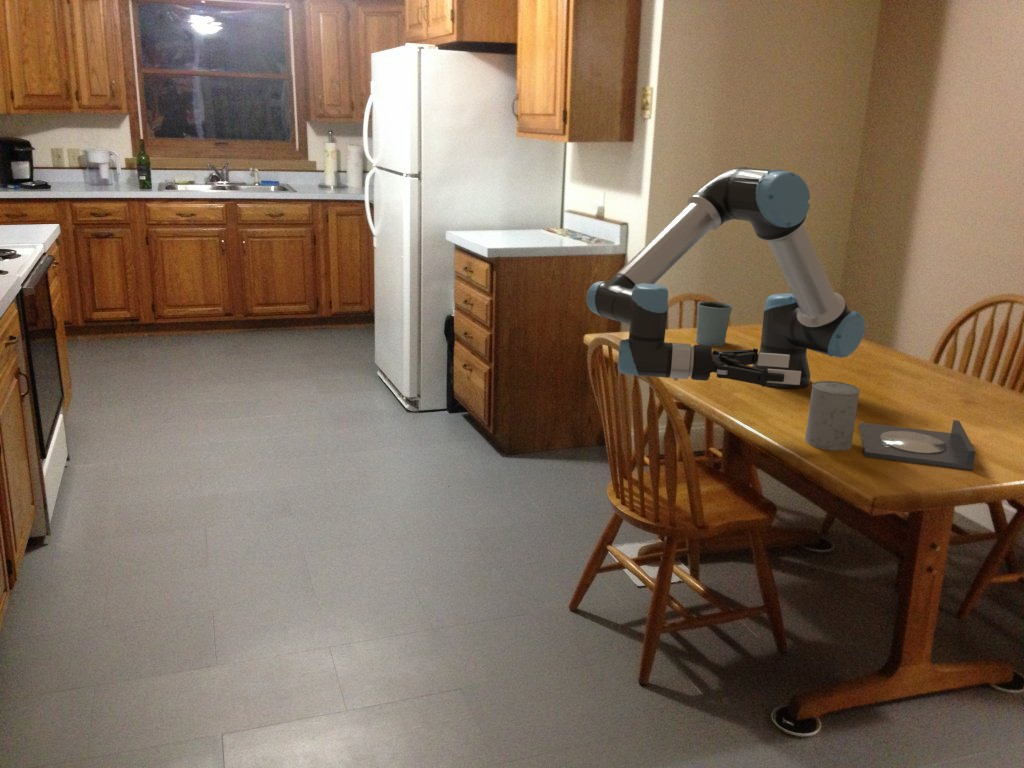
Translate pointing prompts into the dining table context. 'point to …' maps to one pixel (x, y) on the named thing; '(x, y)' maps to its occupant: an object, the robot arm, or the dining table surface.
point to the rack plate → (919, 445)
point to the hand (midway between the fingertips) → (794, 369)
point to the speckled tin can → (832, 415)
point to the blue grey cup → (712, 323)
